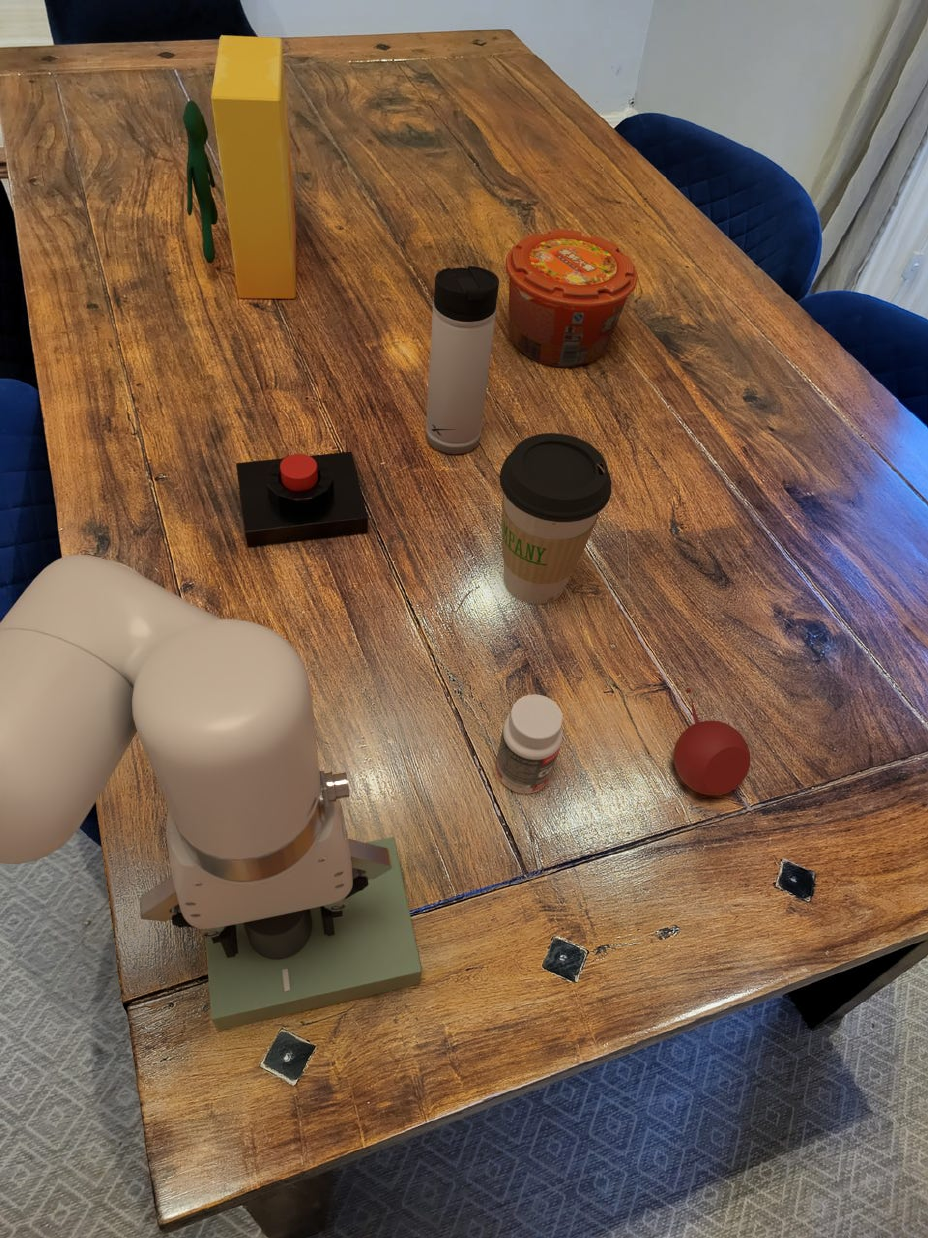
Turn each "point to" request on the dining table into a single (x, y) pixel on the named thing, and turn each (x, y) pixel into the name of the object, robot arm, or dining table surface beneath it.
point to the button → (299, 472)
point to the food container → (566, 296)
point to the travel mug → (460, 357)
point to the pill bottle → (529, 744)
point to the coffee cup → (549, 512)
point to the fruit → (711, 756)
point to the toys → (248, 166)
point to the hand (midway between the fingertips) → (279, 924)
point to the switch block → (301, 502)
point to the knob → (280, 934)
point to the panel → (322, 959)
